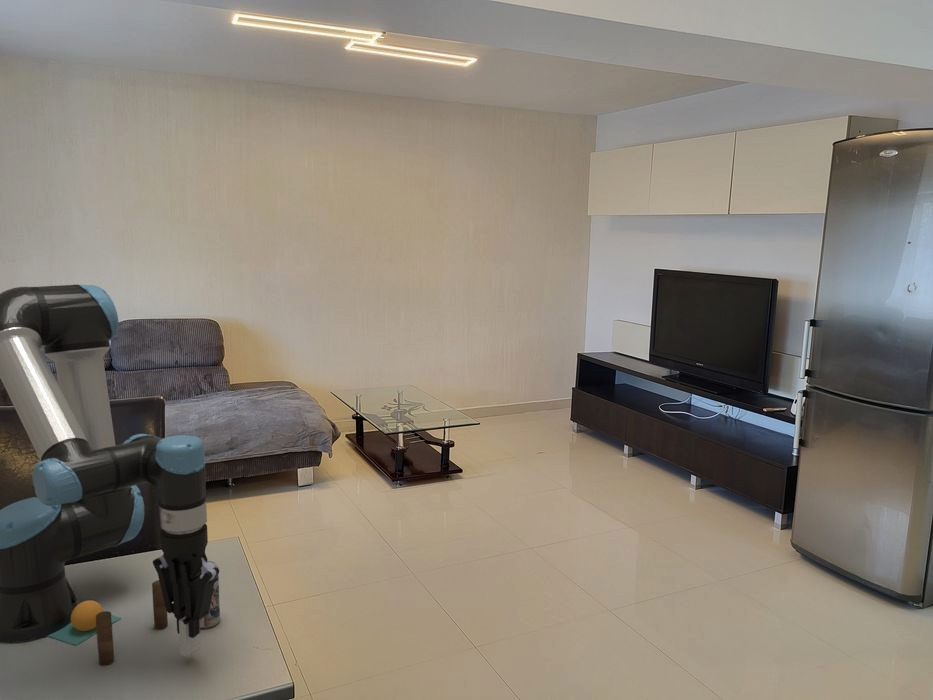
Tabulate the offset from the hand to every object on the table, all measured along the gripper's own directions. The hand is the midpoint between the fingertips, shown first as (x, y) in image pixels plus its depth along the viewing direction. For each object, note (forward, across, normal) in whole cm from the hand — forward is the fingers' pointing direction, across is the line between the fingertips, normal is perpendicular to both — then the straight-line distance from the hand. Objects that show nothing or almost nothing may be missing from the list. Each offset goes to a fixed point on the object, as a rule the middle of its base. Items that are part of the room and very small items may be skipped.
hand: (189, 651), depth 124 cm
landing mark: (+2, -27, 0) cm, 27 cm away
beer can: (+2, -6, +11) cm, 12 cm away
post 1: (+2, -13, -6) cm, 15 cm away
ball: (-1, -25, 0) cm, 25 cm away
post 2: (+2, -13, +6) cm, 15 cm away
